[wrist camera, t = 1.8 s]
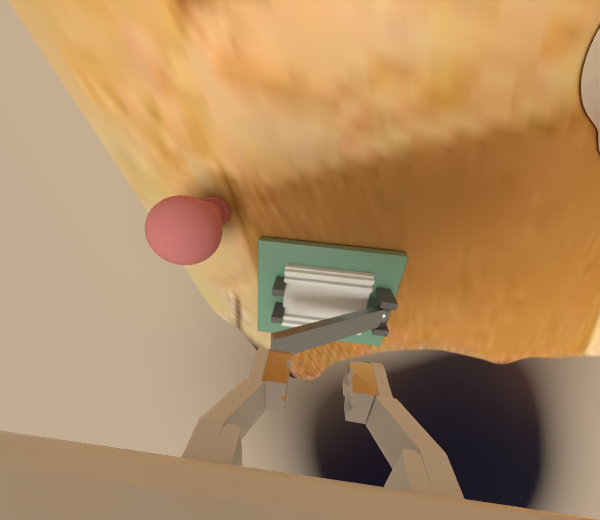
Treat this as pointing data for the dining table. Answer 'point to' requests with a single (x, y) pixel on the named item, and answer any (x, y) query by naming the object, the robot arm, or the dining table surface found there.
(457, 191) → the dining table surface
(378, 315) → the steel strap
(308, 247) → the heat sink board
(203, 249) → the light bulb
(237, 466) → the robot arm
